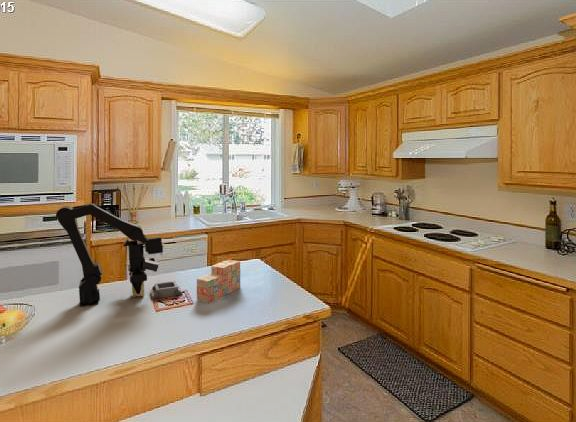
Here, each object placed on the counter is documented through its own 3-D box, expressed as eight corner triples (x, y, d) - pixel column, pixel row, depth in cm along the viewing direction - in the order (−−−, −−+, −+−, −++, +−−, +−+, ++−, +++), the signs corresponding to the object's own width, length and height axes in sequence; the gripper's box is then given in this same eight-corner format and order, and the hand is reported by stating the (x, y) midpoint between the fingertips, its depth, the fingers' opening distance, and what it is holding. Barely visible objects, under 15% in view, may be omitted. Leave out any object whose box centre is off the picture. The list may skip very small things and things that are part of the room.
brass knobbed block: (132, 296, 149) (131, 280, 148) (132, 293, 153) (131, 277, 152) (144, 295, 151) (143, 279, 150) (143, 291, 155) (142, 275, 154)
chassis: (152, 299, 148) (152, 291, 148) (150, 291, 157) (150, 283, 157) (183, 295, 154) (182, 287, 153) (179, 287, 162) (178, 279, 162)
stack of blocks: (208, 303, 145) (207, 274, 144) (196, 300, 148) (195, 271, 147) (240, 287, 164) (240, 260, 162) (229, 284, 167) (229, 258, 165)
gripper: (159, 259, 145) (161, 296, 147) (154, 248, 162) (156, 282, 164) (129, 262, 140) (131, 301, 143) (127, 250, 157) (129, 285, 159)
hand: (138, 291), depth 152 cm, fingers closed on brass knobbed block, 4 cm apart
